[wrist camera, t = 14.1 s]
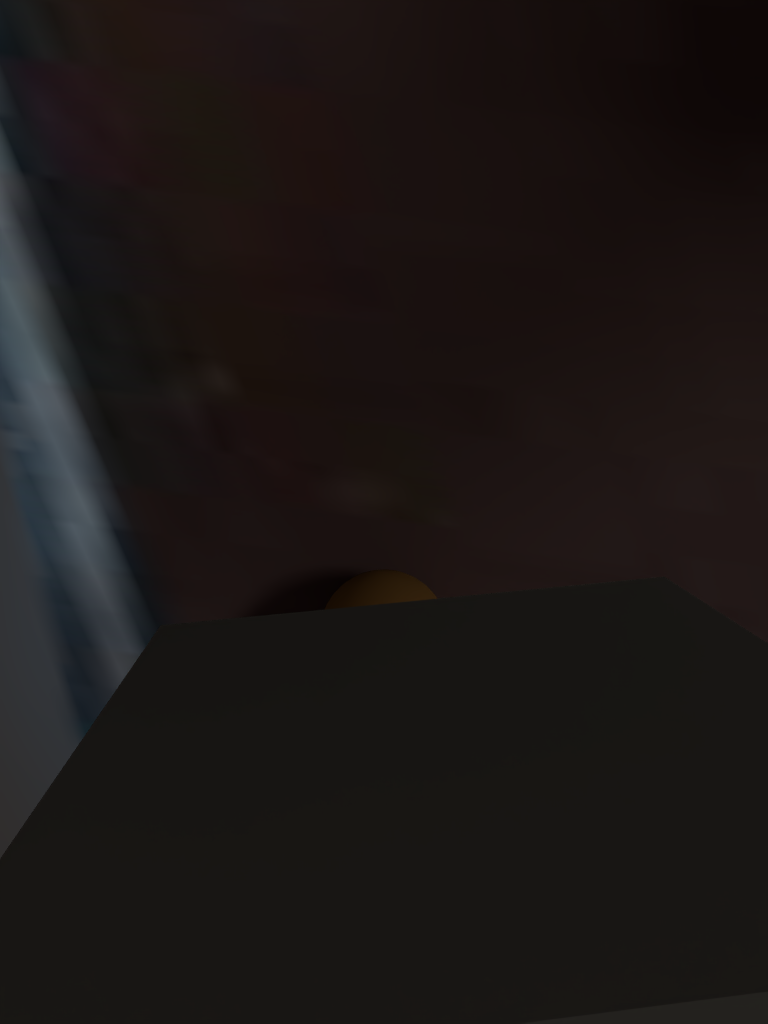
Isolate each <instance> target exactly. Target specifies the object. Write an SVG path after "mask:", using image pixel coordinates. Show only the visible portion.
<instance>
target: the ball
mask: <svg viewBox="0 0 768 1024" xmlns="http://www.w3.org/2000/svg"><path fill="white" fill-rule="evenodd" d="M429 599H437V597H436V596H435V595H434V593H433V592H432V591H431V590H430V589H429V588H428V587H427V586H426V585H425V584H423V583H422V582H421V581H419V580H418V579H416V578H414V577H413V576H410V575H408V574H405V573H402V572H399V571H394V570H374V571H369V572H365V573H362V574H359V575H357V576H355V577H353V578H352V579H350V580H348V581H347V582H345V583H344V584H343V585H342V586H340V588H339V589H338V590H337V591H336V592H335V593H334V594H333V595H332V597H331V598H330V600H329V601H328V603H327V605H326V607H325V609H324V610H326V609H336V608H346V607H357V606H367V605H377V604H388V603H398V602H409V601H419V600H429Z"/></svg>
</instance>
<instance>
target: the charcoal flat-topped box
mask: <svg viewBox="0 0 768 1024" xmlns="http://www.w3.org/2000/svg"><path fill="white" fill-rule="evenodd" d="M0 1024H768V643H766V642H765V641H763V640H762V639H760V638H759V637H757V636H756V635H754V634H752V633H751V632H749V631H748V630H746V629H745V628H743V627H742V626H740V625H738V624H737V623H735V622H734V621H732V620H731V619H729V618H728V617H726V616H725V615H723V614H721V613H720V612H718V611H717V610H715V609H714V608H712V607H711V606H709V605H707V604H706V603H704V602H703V601H701V600H700V599H698V598H697V597H695V596H694V595H692V594H690V593H689V592H687V591H686V590H684V589H683V588H681V587H680V586H678V585H676V584H675V583H673V582H672V581H670V580H669V579H667V578H666V577H657V578H647V579H636V580H626V581H615V582H605V583H595V584H584V585H574V586H564V587H553V588H543V589H533V590H522V591H512V592H502V593H491V594H481V595H471V596H460V597H450V598H440V599H429V600H419V601H409V602H398V603H388V604H377V605H367V606H357V607H346V608H336V609H326V610H315V611H305V612H295V613H284V614H274V615H264V616H253V617H243V618H233V619H222V620H212V621H202V622H191V623H181V624H171V625H161V626H160V627H159V629H158V630H157V632H156V633H155V634H154V636H153V637H152V639H151V640H150V642H149V643H148V645H147V646H146V648H145V649H144V650H143V652H142V653H141V655H140V656H139V658H138V659H137V661H136V662H135V664H134V665H133V666H132V668H131V669H130V671H129V672H128V674H127V675H126V677H125V678H124V680H123V681H122V682H121V684H120V685H119V687H118V688H117V690H116V691H115V693H114V694H113V696H112V697H111V698H110V700H109V701H108V703H107V704H106V706H105V707H104V709H103V710H102V712H101V713H100V714H99V716H98V717H97V719H96V720H95V722H94V723H93V725H92V726H91V728H90V729H89V730H88V732H87V733H86V735H85V736H84V738H83V739H82V741H81V742H80V744H79V745H78V746H77V748H76V749H75V751H74V752H73V754H72V755H71V757H70V758H69V760H68V761H67V763H66V764H65V766H64V767H63V768H62V770H61V771H60V773H59V774H58V776H57V777H56V779H55V780H54V782H53V783H52V784H51V786H50V787H49V789H48V790H47V792H46V793H45V795H44V796H43V797H42V799H41V800H40V802H39V803H38V805H37V806H36V808H35V809H34V811H33V812H32V813H31V815H30V816H29V818H28V819H27V821H26V822H25V824H24V825H23V827H22V828H21V829H20V831H19V833H18V834H17V836H16V837H15V838H14V840H13V841H12V843H11V844H10V845H9V847H8V848H7V850H6V851H5V853H4V854H3V856H2V857H1V859H0Z"/></svg>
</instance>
